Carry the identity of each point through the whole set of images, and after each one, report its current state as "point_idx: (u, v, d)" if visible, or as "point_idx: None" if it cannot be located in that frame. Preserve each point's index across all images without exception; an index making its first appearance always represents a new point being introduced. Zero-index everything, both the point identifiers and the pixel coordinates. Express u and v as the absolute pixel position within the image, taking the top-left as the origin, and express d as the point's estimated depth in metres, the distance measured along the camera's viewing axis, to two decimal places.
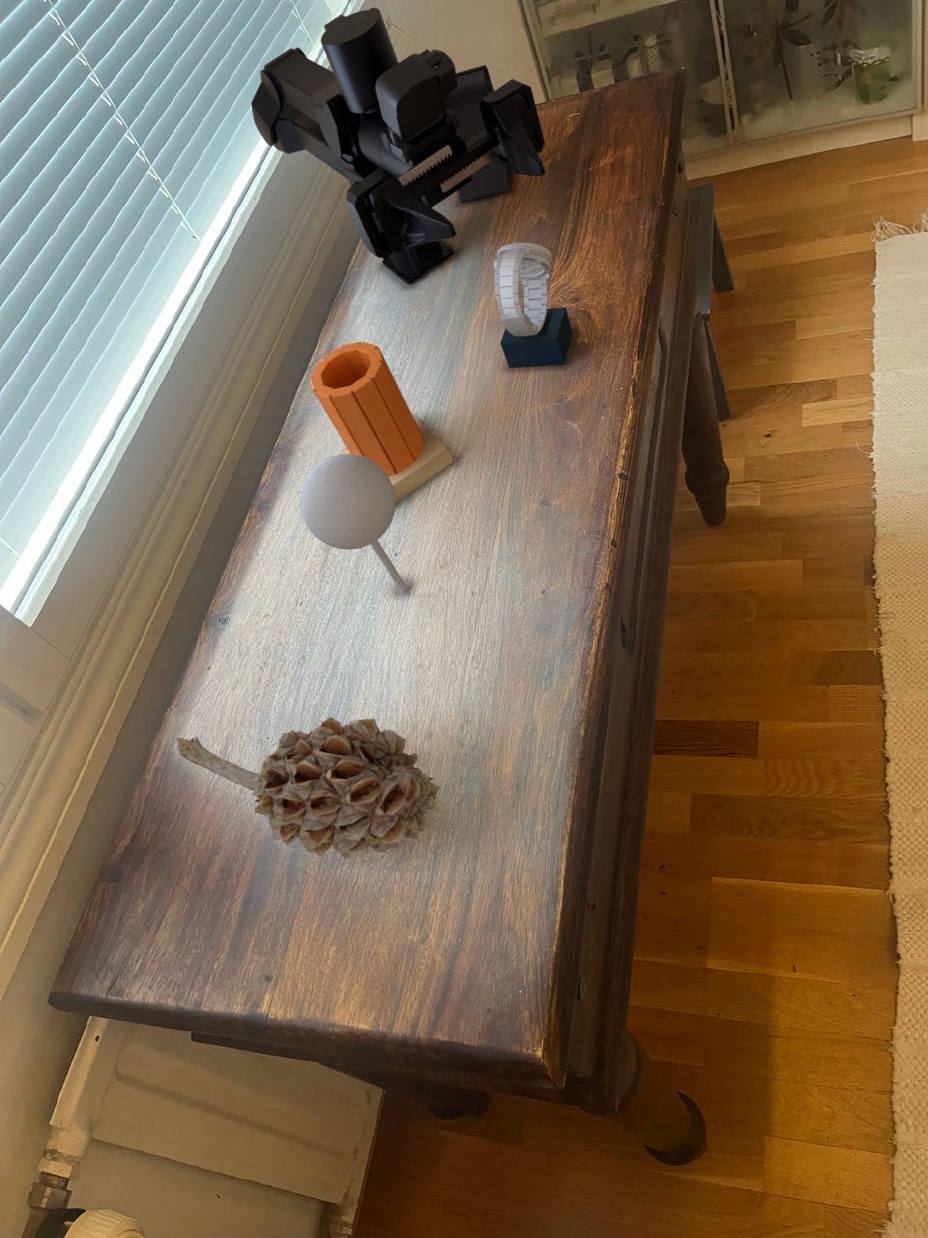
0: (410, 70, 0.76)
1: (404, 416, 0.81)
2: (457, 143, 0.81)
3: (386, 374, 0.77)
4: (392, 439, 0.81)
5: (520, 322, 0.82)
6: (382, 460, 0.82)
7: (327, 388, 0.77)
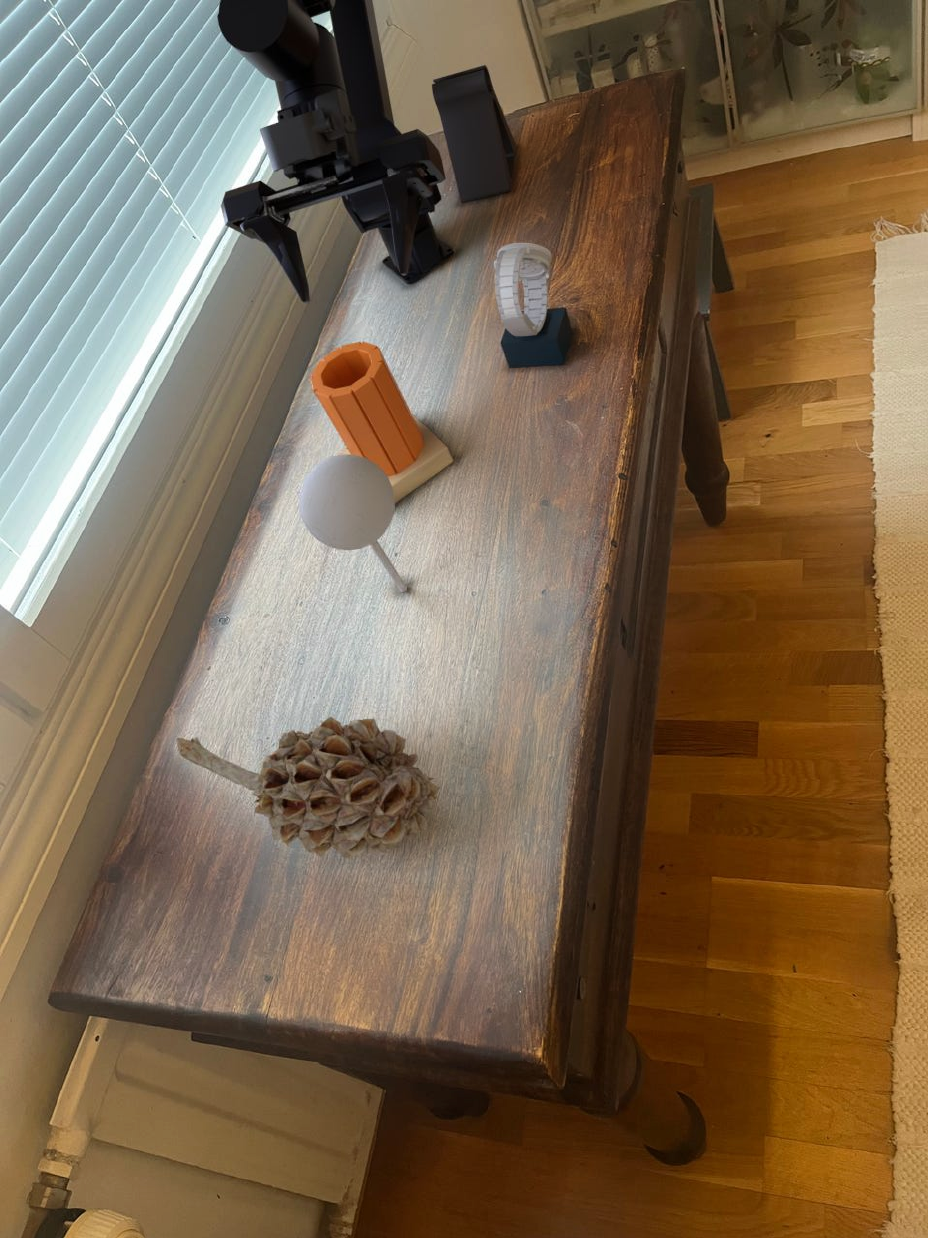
0: (295, 137, 0.72)
1: (404, 416, 0.81)
2: (348, 169, 0.78)
3: (386, 374, 0.77)
4: (392, 439, 0.81)
5: (520, 322, 0.82)
6: (382, 460, 0.82)
7: (327, 388, 0.77)
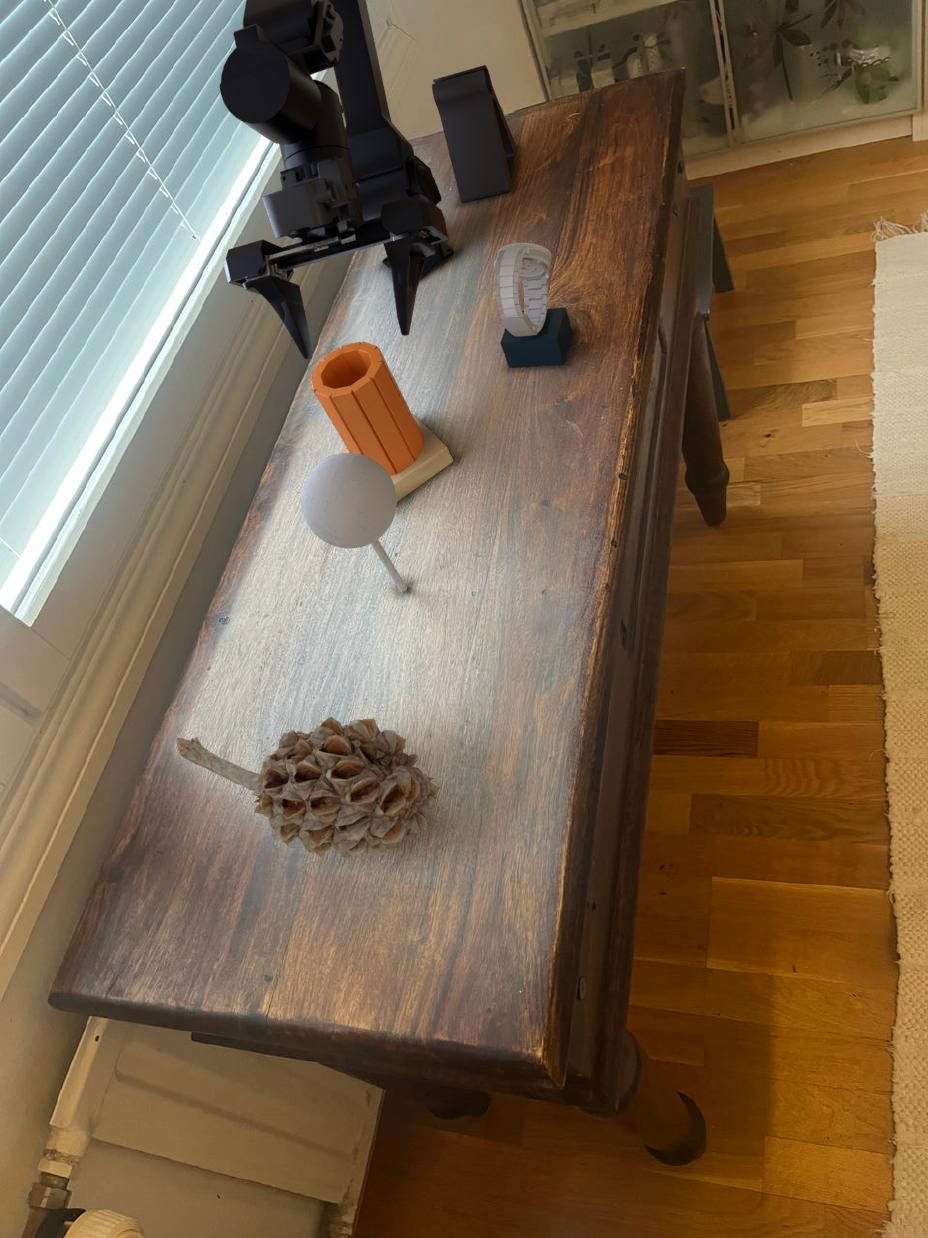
0: (297, 207, 0.72)
1: (404, 416, 0.81)
2: (351, 229, 0.78)
3: (386, 374, 0.77)
4: (392, 439, 0.81)
5: (520, 322, 0.82)
6: (382, 460, 0.82)
7: (327, 388, 0.77)
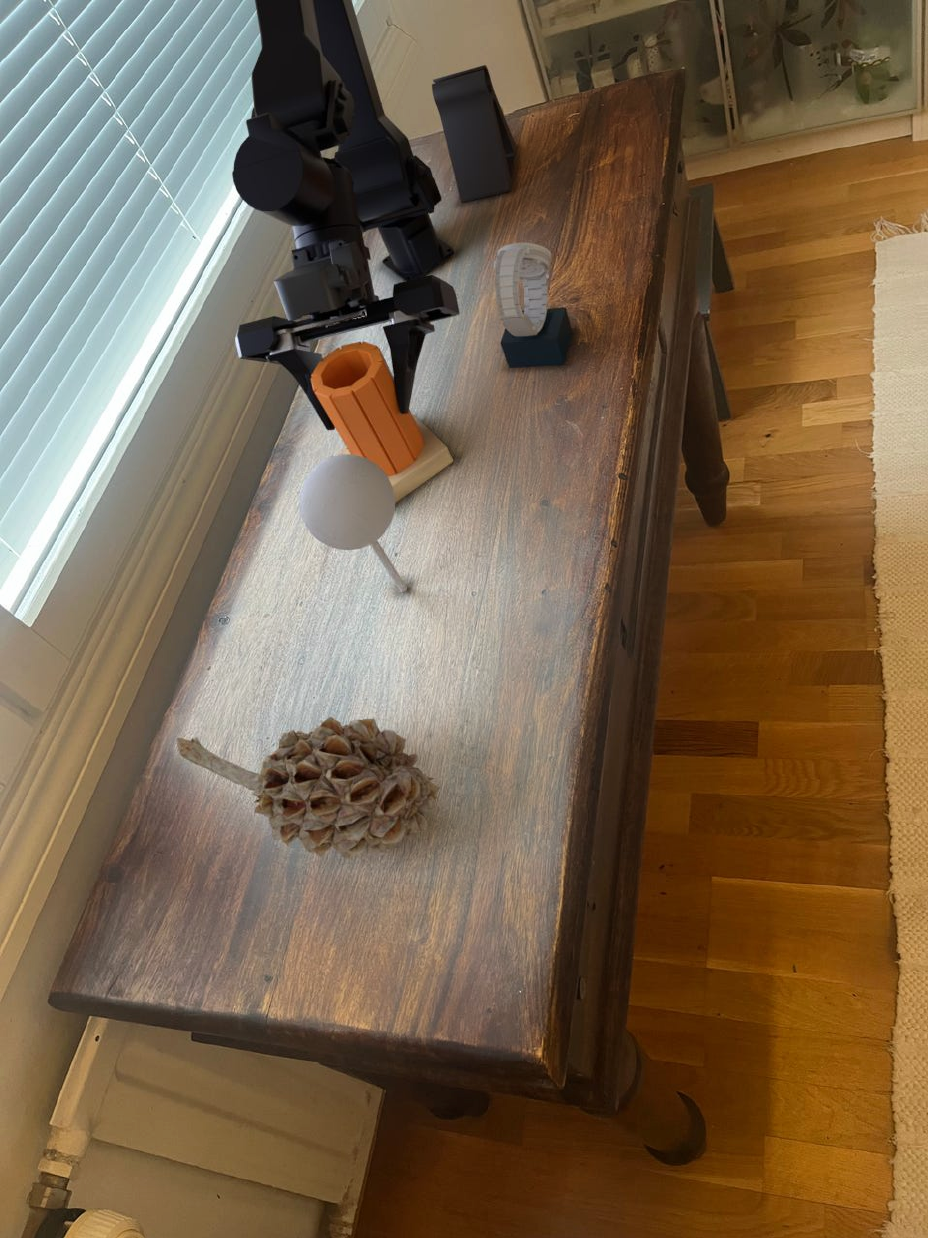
0: (309, 292, 0.71)
1: (404, 416, 0.81)
2: (362, 307, 0.78)
3: (386, 374, 0.77)
4: (392, 439, 0.81)
5: (520, 322, 0.82)
6: (382, 460, 0.82)
7: (327, 388, 0.77)
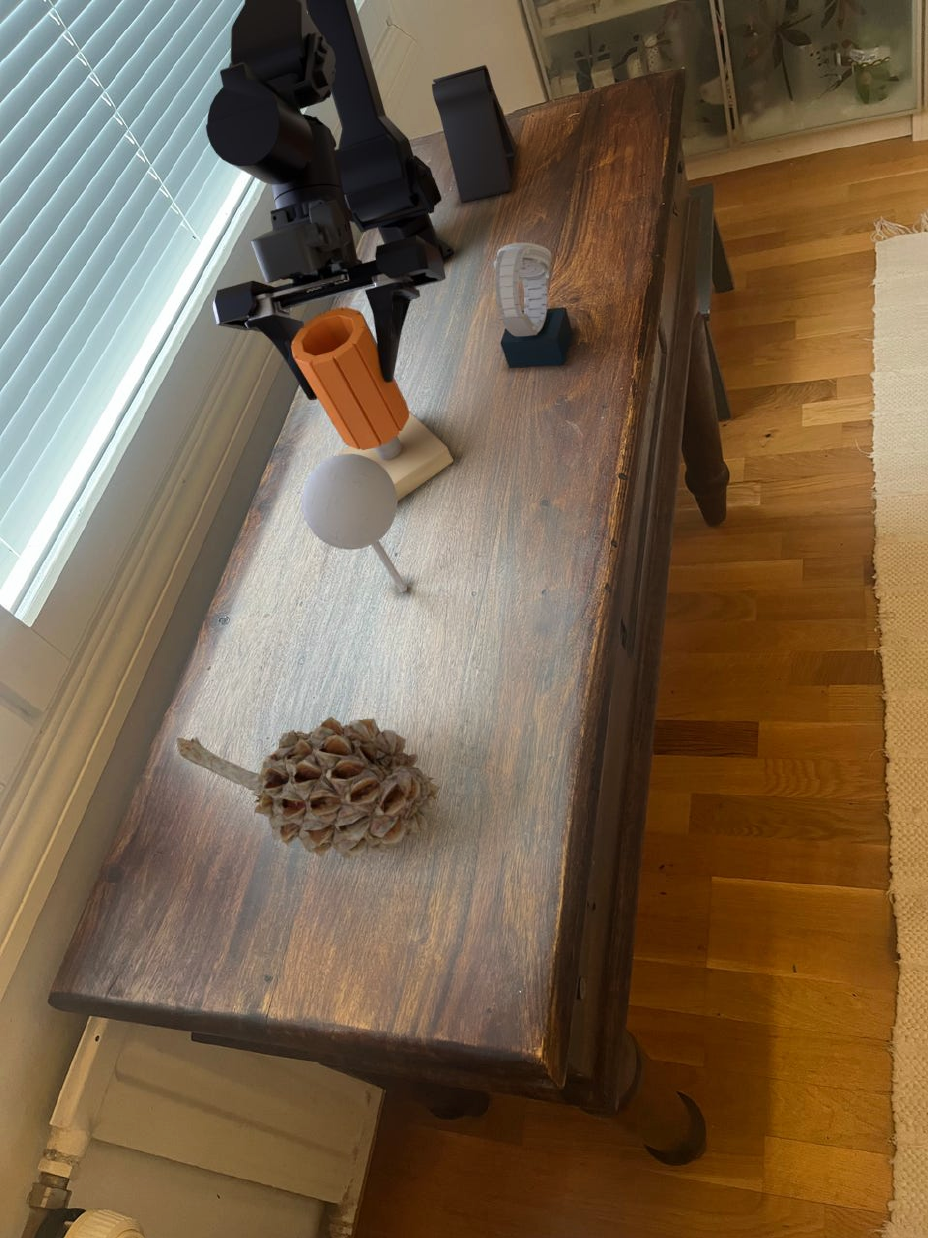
0: (287, 251, 0.69)
1: (389, 385, 0.78)
2: (344, 270, 0.75)
3: (369, 340, 0.75)
4: (376, 409, 0.78)
5: (520, 322, 0.82)
6: (366, 431, 0.79)
7: (307, 354, 0.74)
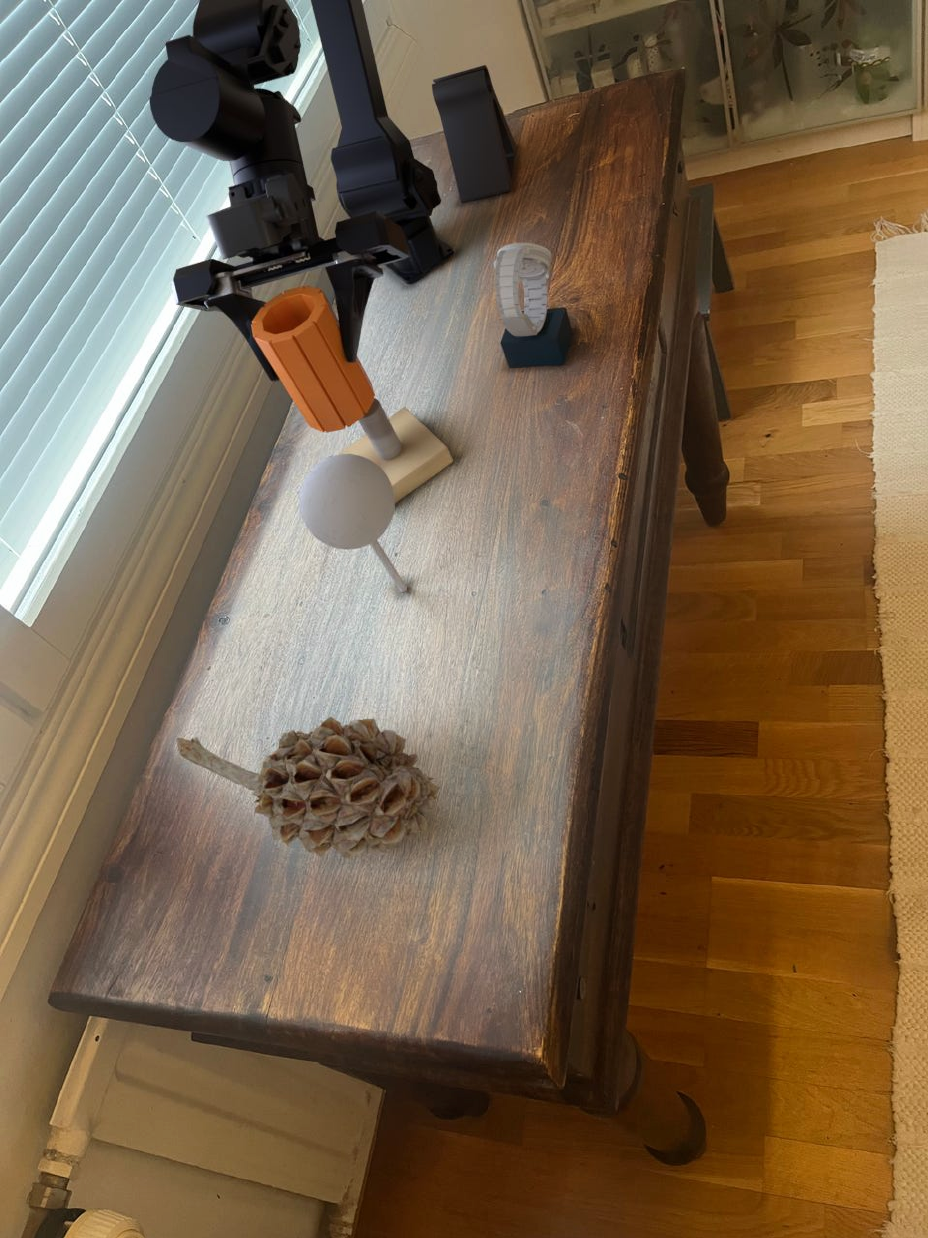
0: (243, 226, 0.67)
1: (352, 366, 0.77)
2: (305, 248, 0.73)
3: (330, 319, 0.73)
4: (339, 390, 0.76)
5: (520, 322, 0.82)
6: (330, 412, 0.78)
7: (267, 333, 0.73)
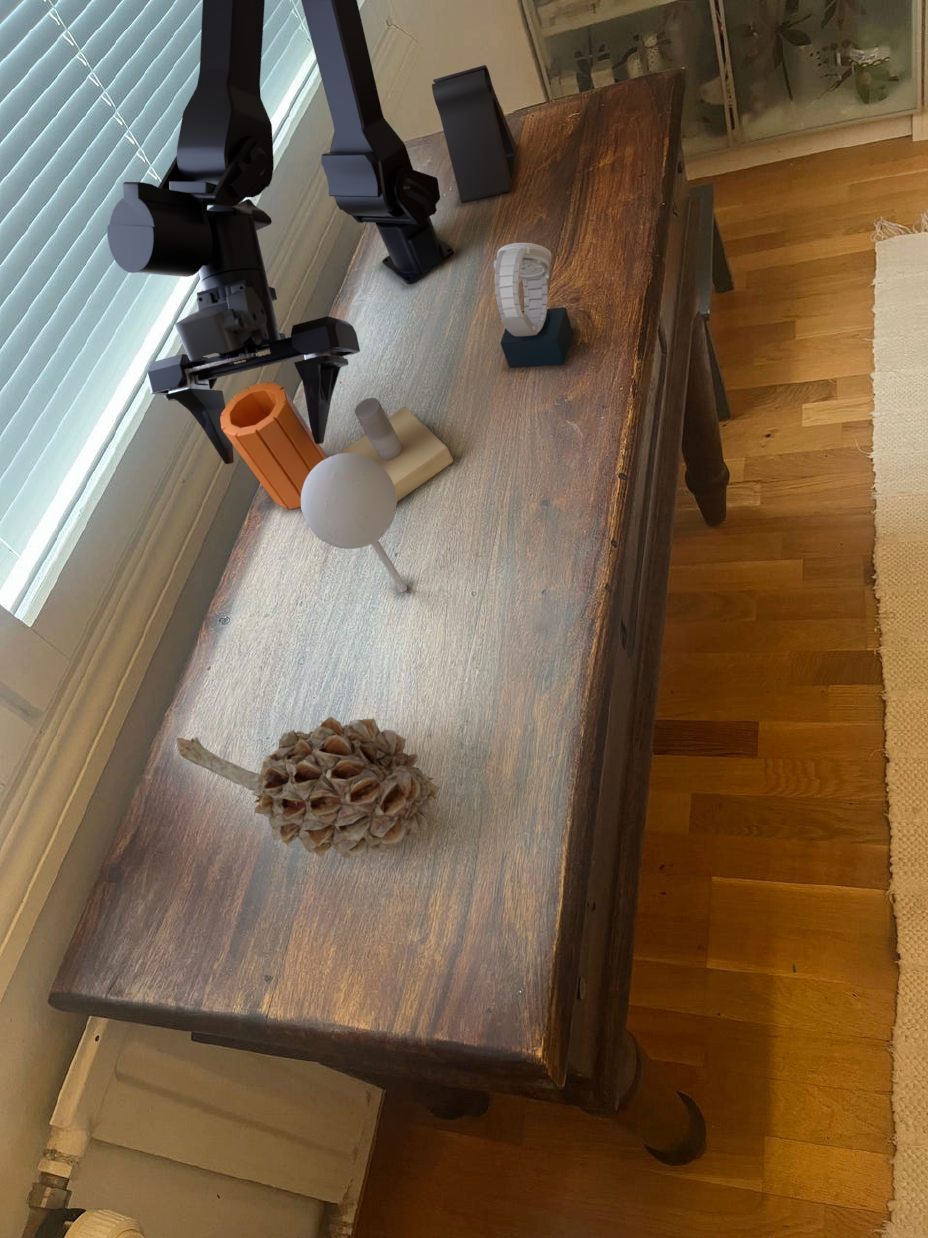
0: (207, 334, 0.76)
1: (311, 452, 0.85)
2: (265, 345, 0.82)
3: (290, 413, 0.82)
4: (299, 474, 0.85)
5: (520, 322, 0.82)
6: (292, 493, 0.86)
7: (234, 426, 0.81)
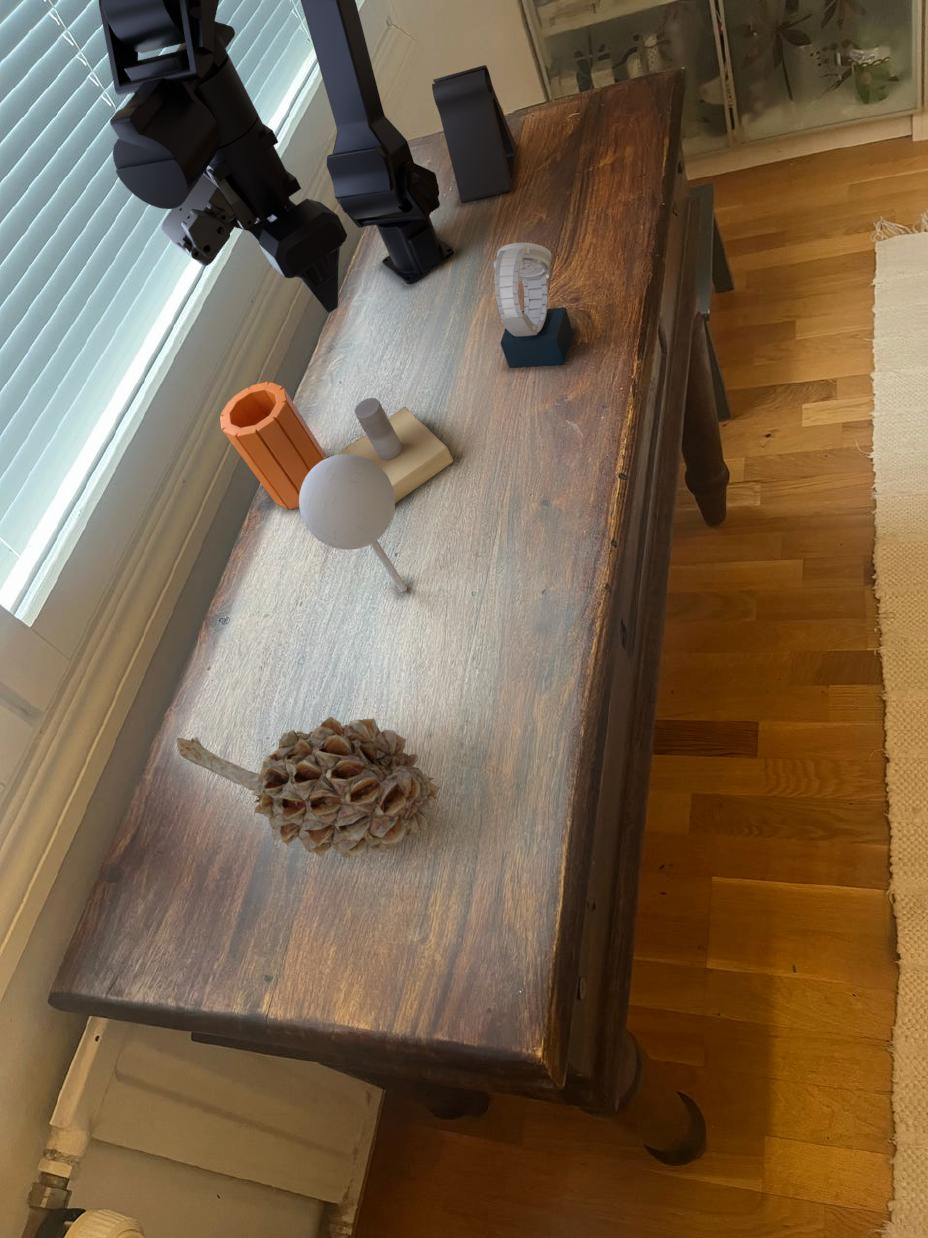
0: None
1: (311, 452, 0.85)
2: None
3: (290, 413, 0.82)
4: (299, 474, 0.85)
5: (520, 322, 0.82)
6: (292, 493, 0.86)
7: (234, 426, 0.81)
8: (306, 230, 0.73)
